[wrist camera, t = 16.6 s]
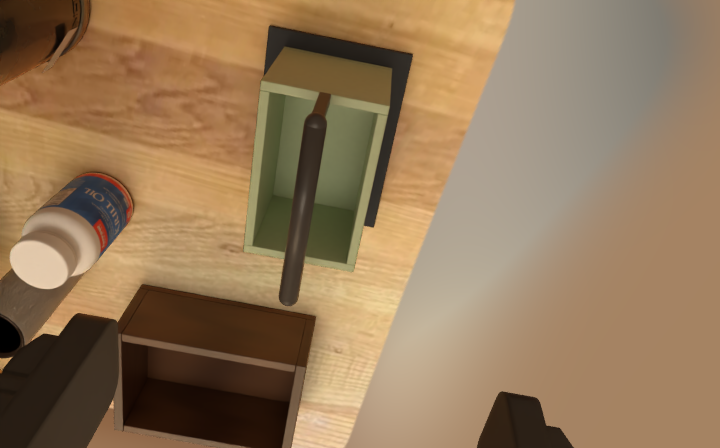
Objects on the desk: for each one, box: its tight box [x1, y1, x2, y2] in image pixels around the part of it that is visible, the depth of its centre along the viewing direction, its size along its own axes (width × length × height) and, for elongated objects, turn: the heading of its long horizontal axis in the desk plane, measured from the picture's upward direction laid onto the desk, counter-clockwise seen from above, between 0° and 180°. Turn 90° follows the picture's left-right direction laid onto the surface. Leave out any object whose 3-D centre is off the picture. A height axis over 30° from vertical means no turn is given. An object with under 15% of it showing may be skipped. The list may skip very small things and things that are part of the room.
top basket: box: [243, 47, 392, 306], centre depth 39 cm, size 13×8×13 cm, turn 169°
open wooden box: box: [114, 285, 316, 448], centre depth 54 cm, size 16×11×6 cm
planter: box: [0, 268, 85, 358], centre depth 48 cm, size 4×4×10 cm
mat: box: [264, 25, 413, 227], centre depth 45 cm, size 10×14×1 cm
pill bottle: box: [10, 173, 133, 289], centre depth 45 cm, size 6×5×10 cm
